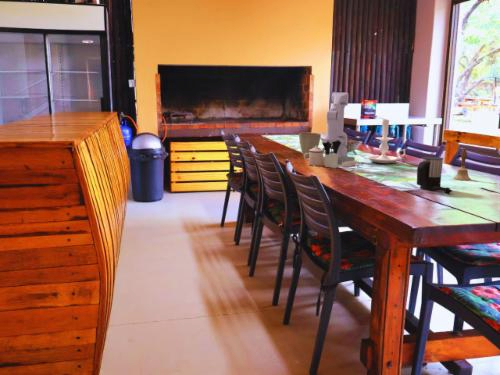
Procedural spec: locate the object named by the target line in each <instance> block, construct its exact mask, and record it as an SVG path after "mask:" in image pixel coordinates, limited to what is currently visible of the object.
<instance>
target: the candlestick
mask: <svg viewBox="0 0 500 375" xmlns="http://www.w3.org/2000/svg"><path fill="white" fill-rule="evenodd" d="M389 124H390V120H389V119H387V118H382V126H381V130H382V132H381V133H382V134H381V136H382V137H381V136H378V137H375V139H376V140H379V141H381V143H380V145H379V146H378V147H379V152H381V155H369V156H366V159H368V160H370V161H371V162H374V163H377V164H393V163H396V162H397V161H400V160H403V157H405V155H406V150H407V149H405V148H404V149H399V150H398V152H397V155H398V156H393V155H386V154H387V152H388V150H390V149H389V143H388V142H389V141H391V140H394V139H395V138H393V137H388V136H389V126H390V125H389ZM400 152H403V154H402V155H400V154H401V153H400Z"/></svg>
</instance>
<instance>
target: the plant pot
mask: <svg viewBox="0 0 500 375" xmlns="http://www.w3.org/2000/svg"><path fill="white" fill-rule="evenodd" d="M321 136H322V134H321V133H317V132H302V133H301V132H300V133H298V138H299V139H298V140H299V145H300V150H301V153H302V156H303V157H304V154H305V153H309V150H310V149H312V148H315V146H318V147H319V145H320V142H321ZM305 158H306V159H307V158H308V159H309V154H306V155H305Z"/></svg>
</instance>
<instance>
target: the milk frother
mask: <svg viewBox="0 0 500 375" xmlns="http://www.w3.org/2000/svg"><path fill="white" fill-rule="evenodd" d="M443 162H444V157H441V156H422V161H420V162H419V163H418V165H417V167H416V168H417V169H416V185H417V186H420V187H419V189H422V190H424V191H441V192H444V194H450V193H452V192H453V190H452V189H451V188H450V187H443V186H441V182H442V173H443V172H442V170H443Z"/></svg>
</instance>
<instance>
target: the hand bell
mask: <svg viewBox="0 0 500 375" xmlns="http://www.w3.org/2000/svg"><path fill="white" fill-rule="evenodd" d="M467 152H468V151H467V149H466V148H462V151H461V155H460V158H461V166H460V168H458V170H457V173H456V175H455V176H454V177H453V178H452V179H453V180H455V181H461V182H463V181H464V182H469V181H472V179H471V177H470V176H469V172H468V168H466V160H467V156H468V153H467Z"/></svg>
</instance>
